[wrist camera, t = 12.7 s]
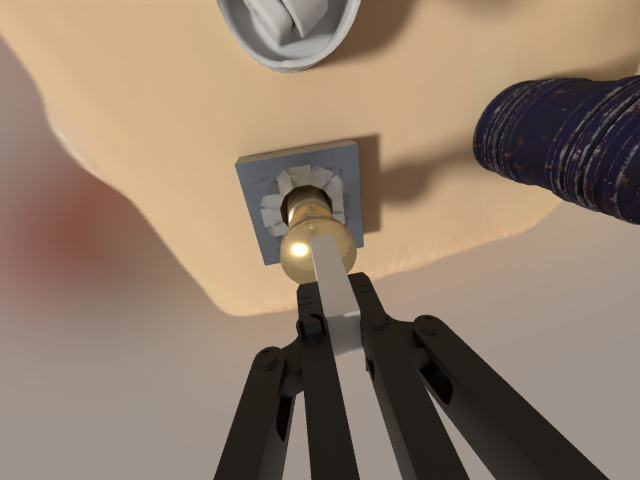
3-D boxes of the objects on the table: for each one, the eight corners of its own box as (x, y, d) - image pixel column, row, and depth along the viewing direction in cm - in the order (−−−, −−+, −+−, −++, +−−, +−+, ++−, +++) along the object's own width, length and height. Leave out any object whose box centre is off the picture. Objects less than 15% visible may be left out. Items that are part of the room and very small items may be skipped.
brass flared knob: (286, 226, 32) (289, 293, 22) (274, 180, 29) (272, 231, 19) (333, 217, 32) (359, 278, 22) (327, 170, 29) (353, 215, 19)
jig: (239, 157, 27) (234, 164, 25) (350, 138, 28) (357, 143, 25) (266, 252, 33) (265, 265, 31) (357, 235, 34) (363, 246, 31)
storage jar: (543, 55, 26) (794, 21, 13) (564, 132, 31) (769, 162, 18) (457, 126, 29) (602, 155, 16) (489, 188, 33) (622, 250, 20)
